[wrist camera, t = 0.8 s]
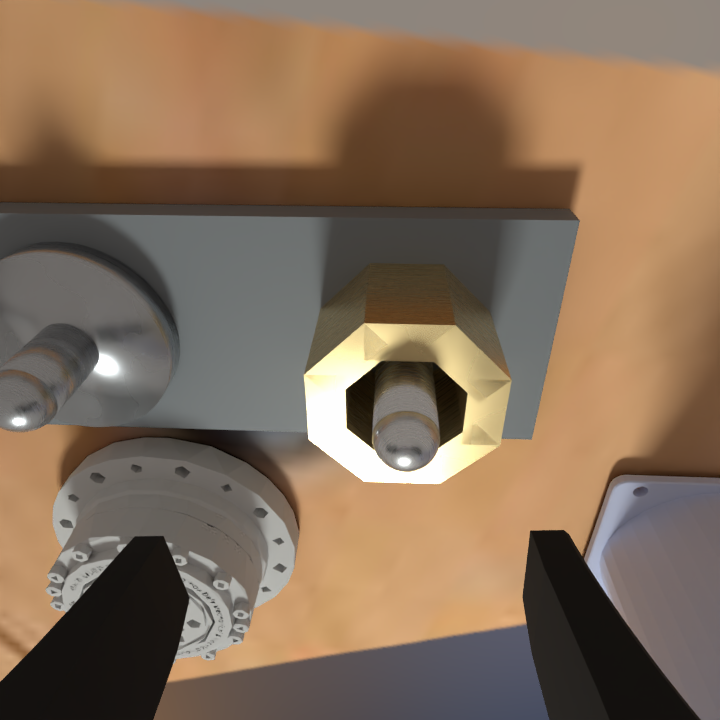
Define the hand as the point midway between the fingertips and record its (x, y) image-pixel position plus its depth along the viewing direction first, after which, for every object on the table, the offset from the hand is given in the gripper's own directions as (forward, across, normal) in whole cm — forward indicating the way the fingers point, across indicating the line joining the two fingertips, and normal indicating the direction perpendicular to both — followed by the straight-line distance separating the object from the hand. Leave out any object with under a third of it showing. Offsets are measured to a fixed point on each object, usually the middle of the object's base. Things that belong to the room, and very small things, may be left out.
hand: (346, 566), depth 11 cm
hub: (+7, +9, -2) cm, 12 cm away
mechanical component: (+9, +9, +8) cm, 15 cm away
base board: (+8, +4, -1) cm, 10 cm away
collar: (+8, -1, -1) cm, 8 cm away
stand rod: (+8, -1, -1) cm, 8 cm away
